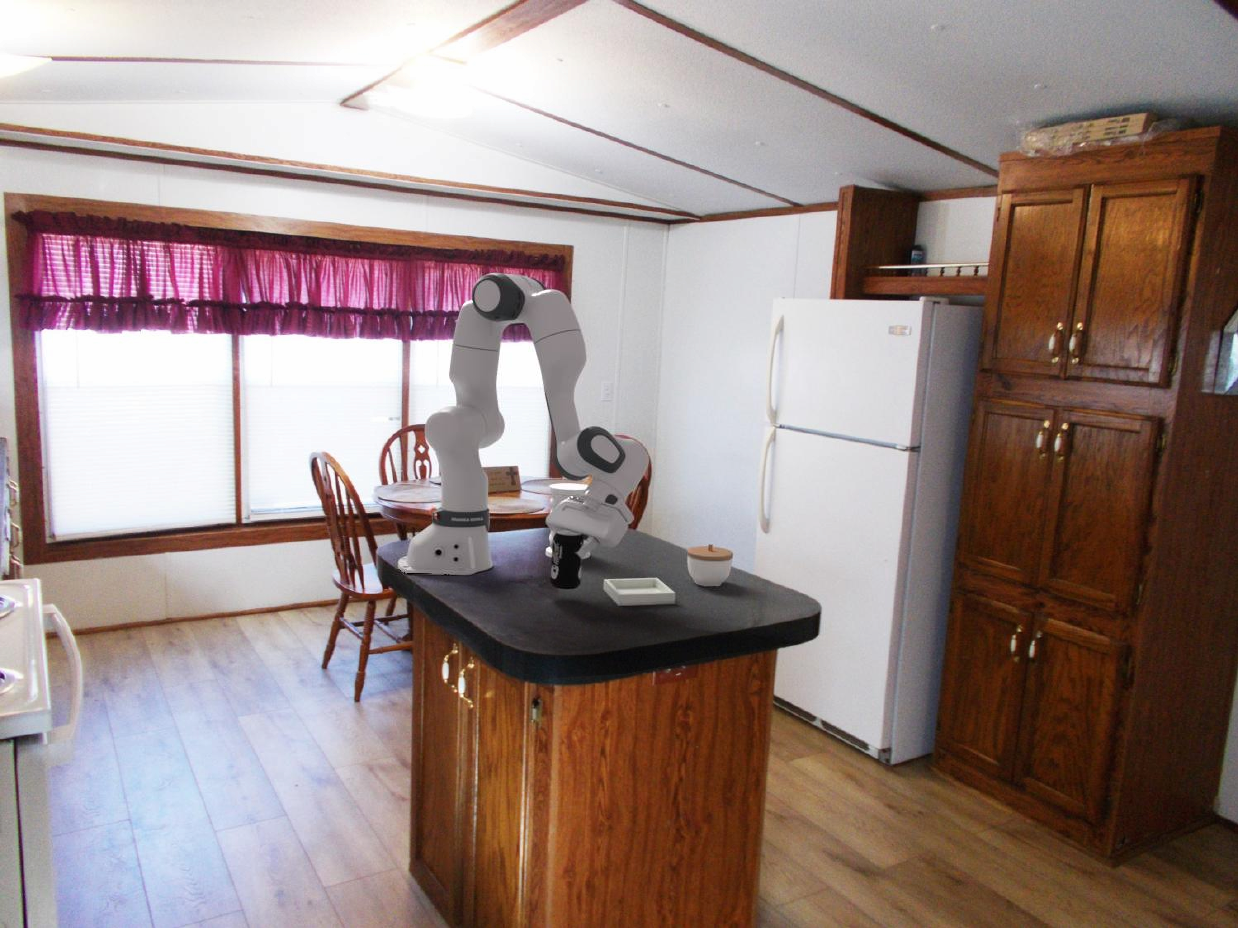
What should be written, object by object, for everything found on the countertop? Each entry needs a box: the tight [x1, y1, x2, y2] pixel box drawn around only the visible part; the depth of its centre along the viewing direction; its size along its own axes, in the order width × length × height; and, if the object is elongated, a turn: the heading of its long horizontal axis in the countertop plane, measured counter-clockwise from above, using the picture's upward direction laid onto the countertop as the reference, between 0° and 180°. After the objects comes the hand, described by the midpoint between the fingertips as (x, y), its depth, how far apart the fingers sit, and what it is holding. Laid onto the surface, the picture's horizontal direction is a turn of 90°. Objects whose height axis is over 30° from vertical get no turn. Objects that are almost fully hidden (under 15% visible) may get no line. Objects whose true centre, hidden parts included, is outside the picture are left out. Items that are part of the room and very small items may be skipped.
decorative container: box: [545, 482, 591, 560], centre depth 236 cm, size 12×12×18 cm
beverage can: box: [549, 529, 584, 590], centre depth 196 cm, size 7×7×12 cm
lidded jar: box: [686, 543, 734, 587], centre depth 214 cm, size 11×11×9 cm
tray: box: [602, 577, 676, 607], centre depth 201 cm, size 13×13×2 cm
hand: (565, 551), depth 195 cm, fingers closed on beverage can, 6 cm apart
